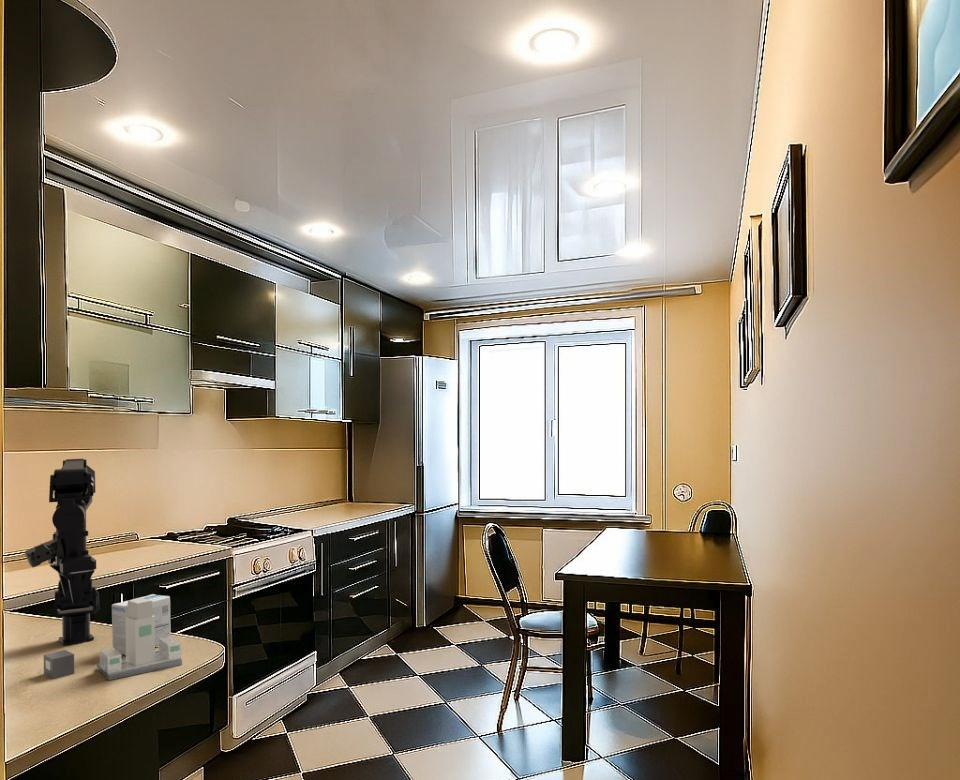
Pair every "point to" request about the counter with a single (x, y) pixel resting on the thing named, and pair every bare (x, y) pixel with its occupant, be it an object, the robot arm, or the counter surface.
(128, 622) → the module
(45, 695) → the counter surface
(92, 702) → the counter surface
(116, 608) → the light bulb box
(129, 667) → the mounting plate
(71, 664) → the block
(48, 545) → the robot arm
